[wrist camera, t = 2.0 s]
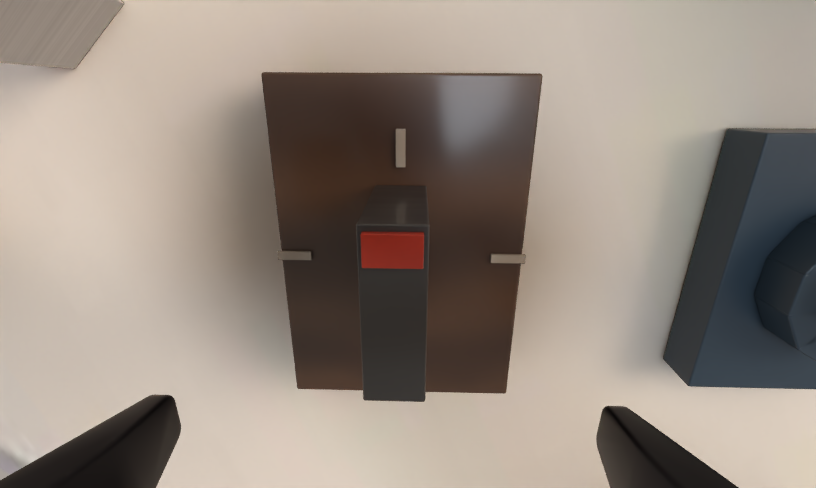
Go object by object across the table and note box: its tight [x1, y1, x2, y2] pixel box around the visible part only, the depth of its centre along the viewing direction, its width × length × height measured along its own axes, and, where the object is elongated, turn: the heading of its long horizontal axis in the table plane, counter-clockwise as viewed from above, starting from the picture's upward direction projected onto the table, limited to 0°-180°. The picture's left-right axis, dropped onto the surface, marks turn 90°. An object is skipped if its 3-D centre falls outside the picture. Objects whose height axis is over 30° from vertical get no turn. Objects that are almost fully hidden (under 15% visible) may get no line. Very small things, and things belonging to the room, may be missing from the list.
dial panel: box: [262, 72, 542, 393], centre depth 18 cm, size 14×10×3 cm
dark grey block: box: [356, 185, 430, 402], centre depth 14 cm, size 6×2×5 cm, turn 0°
